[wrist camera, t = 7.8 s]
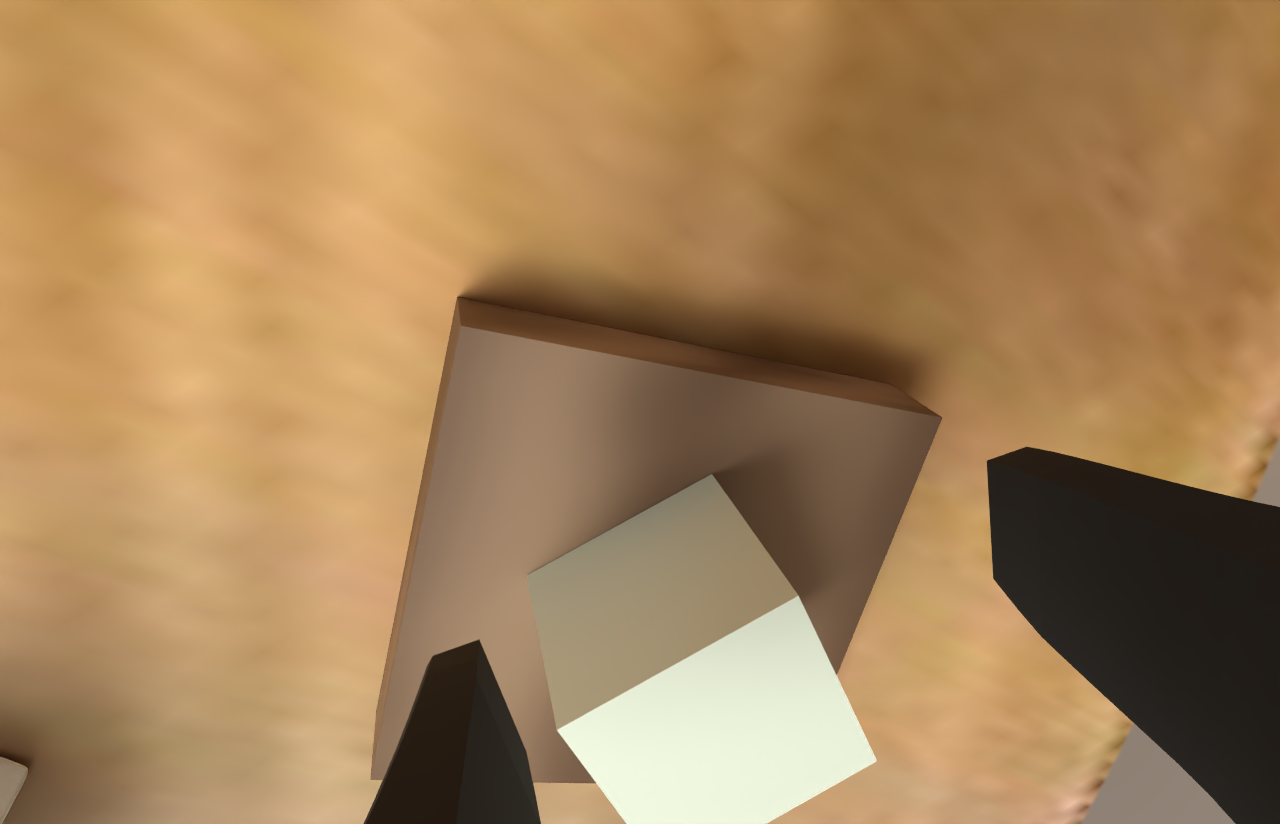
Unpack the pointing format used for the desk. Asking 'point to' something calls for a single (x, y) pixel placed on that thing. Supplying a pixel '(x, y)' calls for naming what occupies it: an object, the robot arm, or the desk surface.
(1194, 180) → the desk surface
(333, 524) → the desk surface
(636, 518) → the white block
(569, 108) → the desk surface
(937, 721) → the desk surface
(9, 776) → the skincare box
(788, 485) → the walnut box
